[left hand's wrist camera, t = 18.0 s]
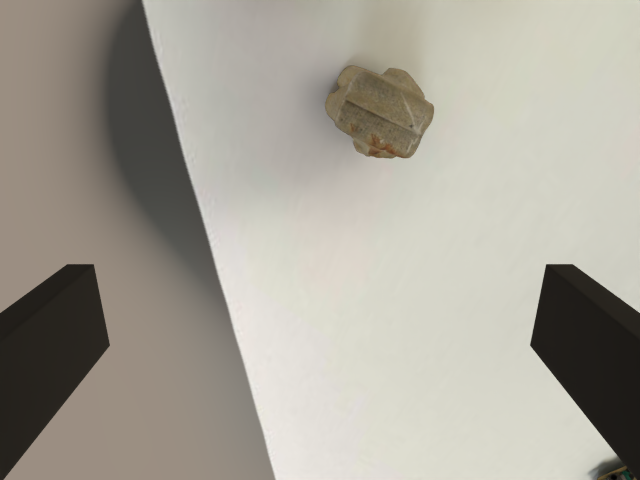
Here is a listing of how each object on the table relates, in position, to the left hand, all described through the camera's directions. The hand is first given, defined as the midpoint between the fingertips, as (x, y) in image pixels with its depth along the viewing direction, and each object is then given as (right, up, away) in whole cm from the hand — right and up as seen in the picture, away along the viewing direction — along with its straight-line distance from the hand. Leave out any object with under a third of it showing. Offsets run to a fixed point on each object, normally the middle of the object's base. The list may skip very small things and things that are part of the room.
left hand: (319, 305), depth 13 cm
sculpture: (+4, +13, +24) cm, 28 cm away
